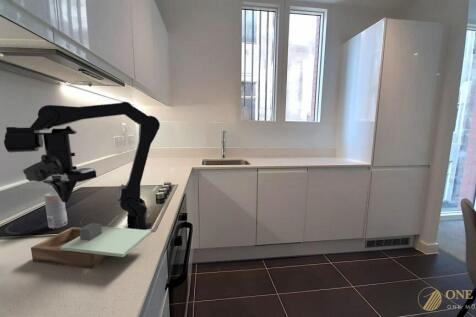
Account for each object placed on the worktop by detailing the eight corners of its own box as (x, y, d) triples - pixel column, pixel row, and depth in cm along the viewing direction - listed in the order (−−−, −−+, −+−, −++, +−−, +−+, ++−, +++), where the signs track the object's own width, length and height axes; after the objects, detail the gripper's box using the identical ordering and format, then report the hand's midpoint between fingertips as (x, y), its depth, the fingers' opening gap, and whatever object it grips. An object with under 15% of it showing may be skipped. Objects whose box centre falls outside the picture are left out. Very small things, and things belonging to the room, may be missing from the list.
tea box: (73, 238, 70) (72, 226, 70) (124, 243, 67) (122, 231, 67) (32, 261, 59) (30, 247, 58) (91, 269, 55) (89, 254, 55)
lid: (98, 228, 68) (96, 216, 67) (151, 233, 65) (150, 220, 64) (60, 249, 56) (58, 236, 56) (123, 257, 53) (121, 242, 53)
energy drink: (65, 221, 83) (61, 190, 82) (69, 225, 80) (65, 193, 78) (47, 226, 79) (42, 194, 78) (50, 230, 76) (45, 197, 74)
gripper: (-2, 153, 58) (8, 210, 60) (58, 154, 54) (66, 214, 57) (43, 148, 69) (50, 197, 71) (95, 149, 65) (100, 200, 68)
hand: (65, 201), depth 66 cm, fingers closed
